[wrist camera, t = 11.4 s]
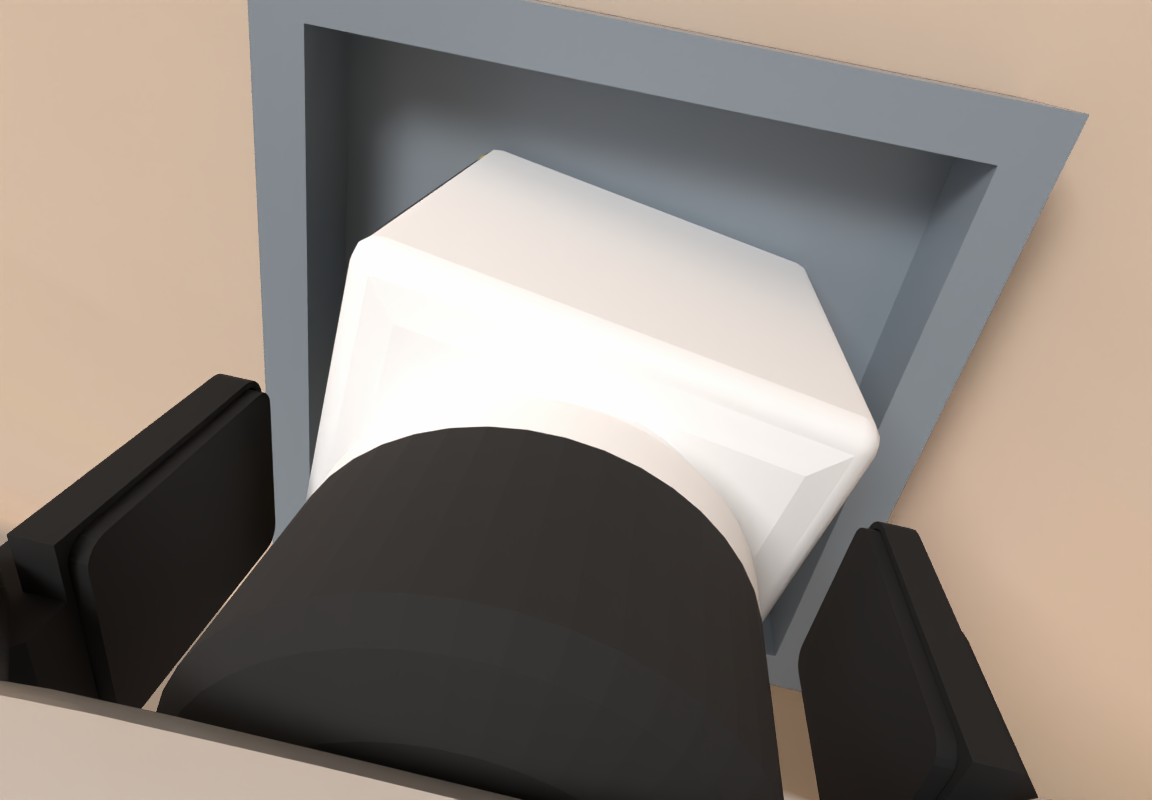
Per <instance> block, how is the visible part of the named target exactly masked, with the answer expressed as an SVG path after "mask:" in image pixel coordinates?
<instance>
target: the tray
mask: <svg viewBox="0 0 1152 800" xmlns="http://www.w3.org/2000/svg"><path fill="white" fill-rule="evenodd" d="M248 17H249V39H250V60H251V82H252V103H253V125H254V146H255V168H256V189H257V211H258V232H259V254H260V275H261V297H262V318H263V340H264V361H265V383H266V394H267V395H268V396H269V398H270V407H271V430H272V453H273V476H274V499H275V522H276V525H275V532H274V536H273V544H274V542H275V541H276V540H277V538H278V537H279V536H280V535H281V533H282V532H283V531H284V530H285V528H286V527H287V526H288V524H289V523H290V522H291V521H292V519H293V518H294V517H295V515H296V514H297V513H298V512H299V510H300V509H301V508H302V507H303V505H304V504H305V502H306V496H307V491H308V485H309V480H310V475H311V469H312V464H313V458H314V453H315V447H316V442H317V436H318V431H319V426H320V420H321V415H322V409H323V404H324V398H325V393H326V387H327V382H328V376H329V371H330V366H331V360H332V355H333V349H334V344H335V338H336V333H337V327H338V322H339V316H340V311H341V306H342V300H343V295H344V289H345V284H346V278H347V273H348V267H349V262H350V258H351V256H352V254H353V252H354V250H355V248H356V246H357V244H358V242H359V241H361V240H362V239H363V238H365V237H366V236H368V235H369V234H371V233H372V232H374V231H375V230H376V229H378V228H379V227H381V226H382V225H384V224H385V223H387V222H388V221H389V220H391V219H392V218H394V217H395V216H397V215H398V214H400V213H401V212H402V211H404V210H405V209H407V208H408V207H410V206H411V205H413V204H414V203H415V202H417V201H418V200H420V199H421V198H423V197H424V196H426V195H427V194H428V193H430V192H431V191H433V190H434V189H436V188H437V187H439V186H440V185H441V184H443V183H444V182H446V181H447V180H449V179H450V178H452V177H453V176H454V175H456V174H457V173H459V172H460V171H462V170H463V169H465V168H466V167H467V166H469V165H470V164H472V163H473V162H475V161H476V160H478V159H479V158H480V157H482V156H483V155H485V154H486V153H488V152H490V151H492V150H501V151H505V152H508V153H510V154H513V155H516V156H518V157H521V158H524V159H526V160H529V161H531V162H534V163H537V164H539V165H542V166H544V167H547V168H550V169H552V170H555V171H557V172H560V173H563V174H565V175H568V176H571V177H573V178H576V179H578V180H581V181H584V182H586V183H589V184H591V185H594V186H597V187H599V188H602V189H604V190H607V191H610V192H612V193H615V194H618V195H620V196H623V197H625V198H628V199H631V200H633V201H636V202H638V203H641V204H644V205H646V206H649V207H652V208H654V209H657V210H659V211H662V212H665V213H667V214H670V215H672V216H675V217H678V218H680V219H683V220H685V221H688V222H691V223H693V224H696V225H699V226H701V227H704V228H706V229H709V230H712V231H714V232H717V233H719V234H722V235H725V236H727V237H730V238H732V239H735V240H738V241H740V242H743V243H746V244H748V245H751V246H753V247H756V248H759V249H761V250H764V251H766V252H769V253H772V254H774V255H777V256H779V257H782V258H785V259H787V260H790V261H793V262H795V263H797V264H799V265H800V266H801V267H803V268H804V269H805V271H806V273H807V276H808V278H809V280H810V282H811V284H812V286H813V289H814V291H815V293H816V295H817V297H818V300H819V302H820V304H821V306H822V308H823V311H824V313H825V315H826V317H827V319H828V322H829V324H830V326H831V328H832V330H833V332H834V335H835V337H836V339H837V341H838V343H839V346H840V348H841V350H842V352H843V354H844V357H845V359H846V361H847V363H848V365H849V367H850V370H851V372H852V374H853V376H854V378H855V381H856V383H857V385H858V387H859V389H860V392H861V394H862V396H863V398H864V400H865V403H866V405H867V407H868V409H869V411H870V413H871V416H872V418H873V420H874V422H875V424H876V427H877V430H878V433H879V436H880V442H879V447H878V450H877V453H876V456H875V458H874V459H873V461H872V462H871V464H870V465H869V467H868V468H867V469H866V471H865V472H864V474H863V475H862V477H861V478H860V480H859V481H858V483H857V484H856V486H855V487H854V489H853V490H852V492H851V493H850V495H849V496H848V497H847V499H846V500H845V502H844V503H843V505H842V506H841V508H840V509H839V511H838V512H837V514H836V515H835V517H834V518H833V520H832V521H831V522H830V524H829V525H828V527H827V528H826V530H825V531H824V533H823V534H822V536H821V537H820V539H819V540H818V542H817V543H816V545H815V546H814V547H813V549H812V550H811V552H810V553H809V555H808V556H807V558H806V559H805V561H804V562H803V564H802V565H801V567H800V568H799V570H798V571H797V572H796V574H795V575H794V577H793V578H792V580H791V581H790V583H789V584H788V586H787V587H786V589H785V590H784V592H783V593H782V595H781V596H780V597H779V599H778V600H777V602H776V603H775V605H774V606H773V608H772V609H771V611H770V612H769V614H768V615H767V617H766V618H765V620H764V621H763V622H762V625H763V633H764V642H765V650H766V658H767V666H768V674H769V683H770V685H774V686H779V687H783V688H787V689H792V690H796V691H800V692H802V691H801V685H800V679H799V673H798V659H799V653H800V649H801V647H802V644H803V642H804V640H805V638H806V636H807V634H808V632H809V629H810V627H811V625H812V623H813V621H814V619H815V617H816V615H817V613H818V611H819V608H820V606H821V604H822V602H823V600H824V598H825V596H826V594H827V592H828V589H829V587H830V585H831V583H832V581H833V579H834V577H835V575H836V573H837V570H838V568H839V566H840V564H841V562H842V560H843V558H844V556H845V554H846V552H847V549H848V547H849V545H850V543H851V541H852V539H853V537H854V535H855V533H856V531H857V530H858V529H859V528H862V527H863V528H867V529H868V528H869V527H870V525H871V524H872V523H873V522H876V521H879V522H884V523H886V522H887V520H888V518H889V516H890V514H891V512H892V510H893V508H894V506H895V504H896V502H897V500H898V498H899V496H900V494H901V492H902V490H903V488H904V486H905V484H906V482H907V480H908V478H909V476H910V474H911V472H912V470H913V468H914V466H915V464H916V462H917V460H918V458H919V456H920V454H921V452H922V450H923V448H924V446H925V444H926V442H927V440H928V438H929V436H930V434H931V432H932V430H933V428H934V426H935V424H936V422H937V420H938V418H939V416H940V414H941V412H942V410H943V408H944V406H945V404H946V402H947V400H948V398H949V396H950V394H951V392H952V390H953V388H954V386H955V384H956V382H957V380H958V378H959V376H960V374H961V372H962V370H963V368H964V366H965V364H966V362H967V360H968V358H969V356H970V354H971V352H972V350H973V348H974V346H975V344H976V342H977V340H978V338H979V336H980V334H981V332H982V330H983V328H984V326H985V323H986V321H987V319H988V317H989V315H990V313H991V311H992V309H993V307H994V305H995V303H996V301H997V299H998V297H999V295H1000V293H1001V291H1002V289H1003V287H1004V285H1005V283H1006V281H1007V279H1008V277H1009V275H1010V273H1011V271H1012V269H1013V267H1014V265H1015V263H1016V261H1017V259H1018V257H1019V255H1020V253H1021V251H1022V249H1023V247H1024V245H1025V243H1026V241H1027V239H1028V237H1029V235H1030V233H1031V231H1032V229H1033V227H1034V225H1035V223H1036V221H1037V219H1038V217H1039V215H1040V213H1041V211H1042V209H1043V207H1044V205H1045V203H1046V201H1047V199H1048V197H1049V195H1050V193H1051V191H1052V189H1053V187H1054V185H1055V183H1056V181H1057V179H1058V177H1059V175H1060V173H1061V171H1062V169H1063V167H1064V165H1065V163H1066V161H1067V159H1068V157H1069V155H1070V153H1071V151H1072V149H1073V147H1074V145H1075V143H1076V141H1077V139H1078V137H1079V135H1080V133H1081V131H1082V129H1083V127H1084V125H1085V123H1086V121H1087V119H1088V117H1089V114H1085V113H1081V112H1077V111H1073V110H1069V109H1065V108H1061V107H1057V106H1053V105H1049V104H1045V103H1041V102H1037V101H1033V100H1029V99H1025V98H1020V97H1015V96H1010V95H1005V94H1000V93H995V92H990V91H985V90H980V89H975V88H970V87H965V86H960V85H956V84H951V83H946V82H941V81H936V80H931V79H926V78H921V77H916V76H911V75H906V74H901V73H896V72H891V71H886V70H881V69H876V68H871V67H866V66H861V65H856V64H851V63H846V62H842V61H837V60H832V59H827V58H822V57H817V56H812V55H807V54H802V53H797V52H792V51H787V50H782V49H777V48H772V47H767V46H762V45H757V44H752V43H747V42H742V41H737V40H732V39H728V38H723V37H718V36H713V35H708V34H703V33H698V32H693V31H688V30H683V29H678V28H673V27H668V26H663V25H658V24H653V23H648V22H643V21H638V20H633V19H628V18H623V17H618V16H613V15H609V14H604V13H599V12H594V11H589V10H584V9H579V8H574V7H569V6H564V5H559V4H554V3H549V2H544V1H539V0H248Z"/></svg>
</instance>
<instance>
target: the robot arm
mask: <svg viewBox="0 0 1152 800" xmlns="http://www.w3.org/2000/svg"><path fill="white" fill-rule="evenodd" d="M275 525H276V522H275V499H274V476H273V453H272V430H271V407H270V398H269V396H268V395H267V394H266V393H263V392H261V388H260V386H259V384H258V383H257V382H255V381H251V380H247V379H242V378H238V377H233V376H229V375H224V374H217V375H215V376H213V377H212V378H211V379H209V380H208V381H207V382H206V383H204V384H203V385H202V386H200V387H199V388H198V389H196V390H195V391H194V392H192V393H191V394H190V395H188V396H187V397H186V398H185V399H183V400H182V401H181V402H179V403H178V404H177V405H175V406H174V407H173V408H171V409H170V410H169V411H168V412H166V413H165V414H164V415H162V416H161V417H160V418H158V419H157V420H156V421H154V422H153V423H152V424H151V425H149V426H148V427H147V428H145V429H144V430H143V431H141V432H140V433H139V434H137V435H136V436H135V437H134V438H132V439H131V440H130V441H128V442H127V443H126V444H124V445H123V446H122V447H120V448H119V449H118V450H117V451H115V452H114V453H113V454H111V455H110V456H109V457H107V458H106V459H105V460H103V461H102V462H101V463H100V464H98V465H97V466H96V467H94V468H93V469H92V470H90V471H89V472H88V473H86V474H85V475H84V476H82V477H81V478H80V479H79V480H77V481H76V482H75V483H73V484H72V485H71V486H69V487H68V488H67V489H65V490H64V491H63V492H62V493H60V494H59V495H58V496H56V497H55V498H54V499H52V500H51V501H50V502H48V503H47V504H46V505H45V506H43V507H42V508H41V509H39V510H38V511H37V512H35V513H34V514H33V515H31V516H30V517H29V518H28V519H26V520H25V521H24V522H22V523H21V524H20V525H18V526H17V527H16V528H14V529H13V530H12V531H11V532H9V533H8V534H7V538H8V541H7V542H5V543H4V544H3V545H2V546H0V800H521V799H517V798H513V797H509V796H505V795H501V794H497V793H493V792H489V791H485V790H480V789H476V788H472V787H468V786H464V785H460V784H456V783H452V782H448V781H443V780H439V779H435V778H431V777H427V776H423V775H419V774H414V773H410V772H406V771H402V770H398V769H394V768H390V767H386V766H381V765H377V764H373V763H369V762H365V761H361V760H357V759H352V758H348V757H344V756H340V755H336V754H332V753H327V752H323V751H319V750H315V749H310V748H306V747H302V746H298V745H294V744H289V743H285V742H281V741H277V740H272V739H268V738H264V737H260V736H256V735H251V734H247V733H243V732H239V731H234V730H230V729H226V728H222V727H218V726H213V725H209V724H205V723H201V722H196V721H192V720H188V719H184V718H180V717H175V716H171V715H167V714H162V713H158V712H153V711H149V710H144V709H141V708H142V707H143V706H144V705H145V703H146V702H147V701H148V699H149V698H150V697H151V695H152V694H153V693H154V692H155V691H156V689H157V688H158V687H159V685H160V684H161V683H162V682H163V680H164V679H165V678H166V677H167V675H168V674H169V673H170V671H171V670H172V668H174V666H175V665H176V664H177V662H178V661H179V660H180V659H181V657H182V656H183V655H184V654H185V652H186V651H187V650H188V649H189V647H190V646H191V645H192V643H193V642H194V641H195V640H196V638H197V637H198V636H199V634H200V633H201V632H202V631H203V630H204V628H205V627H206V626H207V624H208V623H209V622H210V621H211V619H212V618H213V617H214V616H215V614H216V613H217V612H218V610H219V609H220V608H221V607H222V605H223V604H224V603H225V602H226V600H227V599H228V598H229V596H230V595H231V594H232V593H233V591H234V590H235V589H236V588H237V586H238V585H239V584H240V582H241V581H242V580H243V579H244V577H245V576H246V575H247V574H248V572H249V571H250V570H251V568H252V567H253V566H254V565H255V563H256V562H257V561H258V560H259V558H260V557H261V556H262V555H263V553H264V552H265V551H266V549H267V548H268V547H269V545H270V543H271V541H272V539H273V536H274V532H275ZM798 673H799V679H800V685H801V691H802V697H803V702H804V708H805V714H806V720H807V726H808V732H809V738H810V744H811V750H812V756H813V762H814V768H815V774H816V780H817V786H818V792H819V798H820V800H1051V799H1045V798H1038V796H1037V794H1036V791H1035V789H1034V787H1033V785H1032V783H1031V780H1030V778H1029V776H1028V774H1027V771H1026V769H1025V767H1024V765H1023V762H1022V760H1021V758H1020V756H1019V753H1018V751H1017V749H1016V747H1015V745H1014V742H1013V740H1012V738H1011V736H1010V733H1009V731H1008V729H1007V727H1006V724H1005V722H1004V720H1003V718H1002V715H1001V713H1000V711H999V709H998V707H997V704H996V702H995V700H994V698H993V695H992V693H991V691H990V689H989V686H988V684H987V682H986V680H985V677H984V675H983V673H982V671H981V669H980V666H979V664H978V662H977V660H976V657H975V655H974V653H973V651H972V648H971V646H970V644H969V642H968V640H967V638H966V637H965V635H964V634H963V632H962V631H961V629H960V626H959V624H958V622H957V620H956V617H955V615H954V613H953V611H952V608H951V606H950V604H949V602H948V599H947V597H946V595H945V593H944V590H943V588H942V586H941V584H940V581H939V579H938V577H937V575H936V572H935V570H934V568H933V566H932V563H931V561H930V559H929V557H928V554H927V552H926V550H925V548H924V545H923V543H922V541H921V539H920V536H919V535H918V533H917V532H916V531H915V530H913V529H910V528H906V527H901V526H897V525H892V524H888V523H884V522H879V521H876V522H873V523H872V524H871V525H870V527H869V528H868V529H867V528H863V527H862V528H859V529H858V530H857V531H856V533H855V535H854V537H853V539H852V541H851V543H850V545H849V547H848V549H847V552H846V554H845V556H844V558H843V560H842V562H841V564H840V566H839V568H838V570H837V573H836V575H835V577H834V579H833V581H832V583H831V585H830V587H829V589H828V592H827V594H826V596H825V598H824V600H823V602H822V604H821V606H820V608H819V611H818V613H817V615H816V617H815V619H814V621H813V623H812V625H811V627H810V629H809V632H808V634H807V636H806V638H805V640H804V642H803V644H802V647H801V649H800V653H799V659H798Z"/></svg>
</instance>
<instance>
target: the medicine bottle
mask: <svg viewBox="0 0 1152 800" xmlns="http://www.w3.org/2000/svg"><path fill="white" fill-rule="evenodd" d="M879 442H880V436H879V433H878V430H877V427H876V424H875V422H874V420H873V418H872V416H871V413H870V411H869V409H868V407H867V405H866V403H865V400H864V398H863V396H862V394H861V392H860V389H859V387H858V385H857V383H856V381H855V378H854V376H853V374H852V372H851V370H850V367H849V365H848V363H847V361H846V359H845V357H844V354H843V352H842V350H841V348H840V346H839V343H838V341H837V339H836V337H835V335H834V332H833V330H832V328H831V326H830V324H829V322H828V319H827V317H826V315H825V313H824V311H823V308H822V306H821V304H820V302H819V300H818V297H817V295H816V293H815V291H814V289H813V286H812V284H811V282H810V280H809V278H808V276H807V273H806V271H805V269H804V268H803V267H801V266H800V265H799V264H797V263H795V262H793V261H790V260H787V259H785V258H782V257H779V256H777V255H774V254H772V253H769V252H766V251H764V250H761V249H759V248H756V247H753V246H751V245H748V244H746V243H743V242H740V241H738V240H735V239H732V238H730V237H727V236H725V235H722V234H719V233H717V232H714V231H712V230H709V229H706V228H704V227H701V226H699V225H696V224H693V223H691V222H688V221H685V220H683V219H680V218H678V217H675V216H672V215H670V214H667V213H665V212H662V211H659V210H657V209H654V208H652V207H649V206H646V205H644V204H641V203H638V202H636V201H633V200H631V199H628V198H625V197H623V196H620V195H618V194H615V193H612V192H610V191H607V190H604V189H602V188H599V187H597V186H594V185H591V184H589V183H586V182H584V181H581V180H578V179H576V178H573V177H571V176H568V175H565V174H563V173H560V172H557V171H555V170H552V169H550V168H547V167H544V166H542V165H539V164H537V163H534V162H531V161H529V160H526V159H524V158H521V157H518V156H516V155H513V154H510V153H508V152H505V151H501V150H492V151H490V152H488V153H486V154H485V155H483V156H482V157H480V158H479V159H478V160H476V161H475V162H473V163H472V164H470V165H469V166H467V167H466V168H465V169H463V170H462V171H460V172H459V173H457V174H456V175H454V176H453V177H452V178H450V179H449V180H447V181H446V182H444V183H443V184H441V185H440V186H439V187H437V188H436V189H434V190H433V191H431V192H430V193H428V194H427V195H426V196H424V197H423V198H421V199H420V200H418V201H417V202H415V203H414V204H413V205H411V206H410V207H408V208H407V209H405V210H404V211H402V212H401V213H400V214H398V215H397V216H395V217H394V218H392V219H391V220H389V221H388V222H387V223H385V224H384V225H382V226H381V227H379V228H378V229H376V230H375V231H374V232H372V233H371V234H369V235H368V236H366V237H365V238H363V239H362V240H361V241H359V242H358V244H357V246H356V248H355V250H354V252H353V254H352V256H351V258H350V262H349V267H348V273H347V278H346V284H345V289H344V295H343V300H342V306H341V311H340V316H339V322H338V327H337V333H336V338H335V344H334V349H333V355H332V360H331V366H330V371H329V376H328V382H327V387H326V393H325V398H324V404H323V409H322V415H321V420H320V426H319V431H318V436H317V442H316V447H315V453H314V458H313V464H312V469H311V475H310V480H309V485H308V491H307V496H306V502H305V504H304V505H303V507H302V508H301V509H300V510H299V512H298V513H297V514H296V515H295V517H294V518H293V519H292V521H291V522H290V523H289V524H288V526H287V527H286V528H285V530H284V531H283V532H282V533H281V535H280V536H279V537H278V538H277V540H276V541H275V542H274V544H273V545H272V546H271V547H270V549H269V550H268V551H267V553H266V554H265V555H264V556H263V558H262V559H261V560H260V561H259V563H258V564H257V565H256V567H255V568H254V569H253V570H252V572H251V573H250V574H249V576H248V577H247V578H246V579H245V581H244V582H243V583H242V584H241V586H240V587H239V588H238V590H237V591H236V592H235V593H234V595H233V596H232V597H231V599H230V600H229V601H228V602H227V604H226V605H225V606H224V607H223V609H222V610H221V611H220V613H219V614H218V615H217V616H216V618H215V619H214V620H213V622H212V623H211V624H210V625H209V627H208V628H207V629H206V631H205V632H204V633H203V634H202V636H201V637H200V638H199V640H198V641H197V642H196V644H195V645H194V646H193V647H192V648H191V650H190V651H189V652H188V654H187V655H186V656H185V657H184V659H183V660H182V661H181V663H180V664H179V665H178V666H177V668H176V670H175V671H174V673H173V675H172V676H171V678H170V680H169V681H168V683H167V685H166V686H165V688H164V690H163V692H162V695H161V698H160V701H159V705H158V708H157V711H156V712H158V713H162V714H167V715H171V716H175V717H180V718H184V719H188V720H192V721H196V722H201V723H205V724H209V725H213V726H218V727H222V728H226V729H230V730H234V731H239V732H243V733H247V734H251V735H256V736H260V737H264V738H268V739H272V740H277V741H281V742H285V743H289V744H294V745H298V746H302V747H306V748H310V749H315V750H319V751H323V752H327V753H332V754H336V755H340V756H344V757H348V758H352V759H357V760H361V761H365V762H369V763H373V764H377V765H381V766H386V767H390V768H394V769H398V770H402V771H406V772H410V773H414V774H419V775H423V776H427V777H431V778H435V779H439V780H443V781H448V782H452V783H456V784H460V785H464V786H468V787H472V788H476V789H480V790H485V791H489V792H493V793H497V794H501V795H505V796H509V797H513V798H517V799H521V800H784V797H783V789H782V781H781V773H780V765H779V756H778V748H777V740H776V732H775V724H774V715H773V707H772V699H771V691H770V683H769V674H768V666H767V658H766V650H765V642H764V633H763V625H762V622H763V621H764V620H765V618H766V617H767V615H768V614H769V612H770V611H771V609H772V608H773V606H774V605H775V603H776V602H777V600H778V599H779V597H780V596H781V595H782V593H783V592H784V590H785V589H786V587H787V586H788V584H789V583H790V581H791V580H792V578H793V577H794V575H795V574H796V572H797V571H798V570H799V568H800V567H801V565H802V564H803V562H804V561H805V559H806V558H807V556H808V555H809V553H810V552H811V550H812V549H813V547H814V546H815V545H816V543H817V542H818V540H819V539H820V537H821V536H822V534H823V533H824V531H825V530H826V528H827V527H828V525H829V524H830V522H831V521H832V520H833V518H834V517H835V515H836V514H837V512H838V511H839V509H840V508H841V506H842V505H843V503H844V502H845V500H846V499H847V497H848V496H849V495H850V493H851V492H852V490H853V489H854V487H855V486H856V484H857V483H858V481H859V480H860V478H861V477H862V475H863V474H864V472H865V471H866V469H867V468H868V467H869V465H870V464H871V462H872V461H873V459H874V458H875V456H876V453H877V450H878V447H879Z"/></svg>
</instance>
